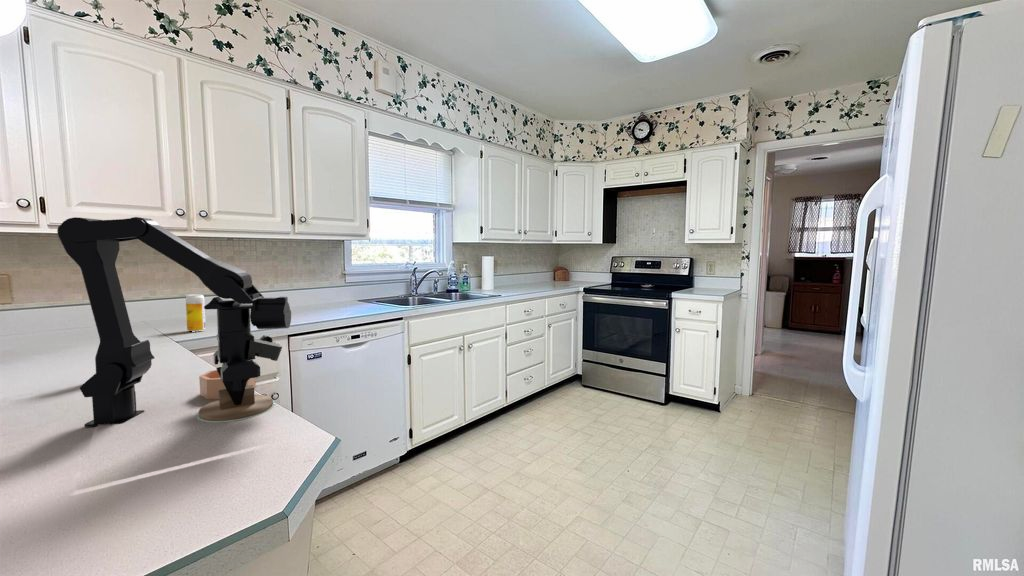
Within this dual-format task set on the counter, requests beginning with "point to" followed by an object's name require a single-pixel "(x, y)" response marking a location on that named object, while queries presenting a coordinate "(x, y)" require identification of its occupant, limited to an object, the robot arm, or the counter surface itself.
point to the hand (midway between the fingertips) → (237, 402)
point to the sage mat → (236, 419)
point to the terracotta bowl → (215, 384)
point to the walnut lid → (235, 406)
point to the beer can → (195, 312)
